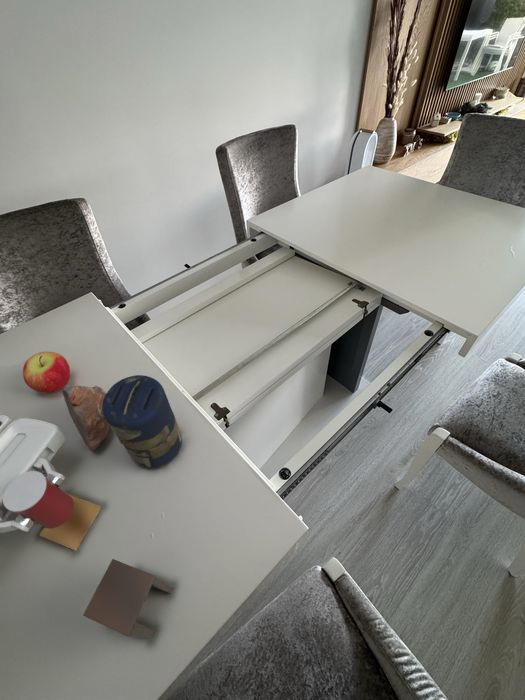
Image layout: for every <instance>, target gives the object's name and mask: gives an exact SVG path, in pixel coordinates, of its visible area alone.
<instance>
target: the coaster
mask: <svg viewBox="0 0 525 700" xmlns="http://www.w3.org/2000/svg"><path fill="white" fill-rule="evenodd" d="M67 494H68V495H69V496H71V498H72V499H73V502H74V508H73V511H72V514H71V516H70V517H69V518H68V520H67V521H66V522H65V523H63V524H62V525H60V526H58V527H56V528H51V529H49V528H45V527H43V529H42V530H41V531H40V533H39V534H38V537H42V538H44V539H46V540H49V541H51V542H53V543H56V544H58V545H60V546H63V547H65V548H68V549H70V550H73V551H75V552H76V551H77V550H78V548H79V547H80V546H81V544H82V542H83V540H84V539H85V537H86V535H87V534H88V532H89V530H90V528H91V527H92V525H93V523H94V522H95V520H96V519H97V516H98V515H99V513H100V511H101V510H102V508H103V507H102V505H98V504H96V503H93V502H91V501H88V500H85V499H83V498H80V497H78V496H75V495H73V494H69V493H67Z"/></svg>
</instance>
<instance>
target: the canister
mask: <svg viewBox="0 0 525 700" xmlns="http://www.w3.org/2000/svg"><path fill="white" fill-rule="evenodd" d="M102 410H103V414H104V417H105V419H106V421H107V422H108V424H109V425H108V426H109V427H110V429H111V430H112V432H113V433H114V434H115V436H116V438H117V439H118V441H119V443H120V444H121V445H122V446H123V447H124V449H125V450H126V452H127V453H128V454H129V456H130V457H131V458H132V461H134V462H135V463H136V465H139V466H140V467H143V468H146V469H157V468H160V467H164V466H166V465H167V464H170V462H172V461H173V460H174V459H175V458H176V457H177V455H179V452H180V450H181V448H182V443H183V436H182V432H181V429H180V427H179V424H178V421H177V419H176V416H175V413H174V411H173V409H172V407H171V403H170V401H169V399H168V396H167V394H166V391H165V389H164V387H163V386H162V384H161V383H160V382H159V381H158V380H157V379H156V378H154V377H151V376H149V375H142V374H137V375H131V376H128V377H124V378H122V379H120V380H118V381H117V382H116V383H115V384H113V385H112V386H111V387H110V388H109V389H108V391H106V395H105V397H104V400H103V404H102Z"/></svg>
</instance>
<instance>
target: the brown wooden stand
mask: <svg viewBox="0 0 525 700" xmlns="http://www.w3.org/2000/svg"><path fill="white" fill-rule="evenodd" d="M152 587H153V588H155V589H157V590H160V591H162V592H165V593H167V594H170V595H171V593H172V591H173V587H172V586H171V585H170V584H168V583H166V582H165V581H163V580H162V579H160V578H158V577H157V576H156V575H153V574H151V573H149V572H146V571H143V570H141V569H139V568H136V567H134V566H132V565H129V564H127V563H124V562H122V561H119V560H117V559H114V558H112V559H111V560H110V563H109V565H108V566H107V568H106V571H105V573H104V574H103V576H102V578H101V580H100V582H99V584H98V585H97V588H96V590H95V591H94V593H93V596H92V597H91V599H90V601H89V603H88V605H87V606H86V609H85V610H84V613H83V614H82V616H83V617H85V618H87V619H89V620H92V621H94V622H95V623H98V624H100V625H102V626H105V627H107V628H109V629H111V630H114V631H115V632H117V633H120V634H122V635H124V636H126V637H133V638H135V637H136V638H146V639H153V637H154V635H155V633H156V632H155V630H154V629H152V628H150V627H148V626H145V625H143V624H141V623H138V622H137V620H138V617H139V615H140V612H141V611H142V608H143V606H144V604H145V601H146V599H147V597H148V595H149V592H150V591H151V588H152Z"/></svg>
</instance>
